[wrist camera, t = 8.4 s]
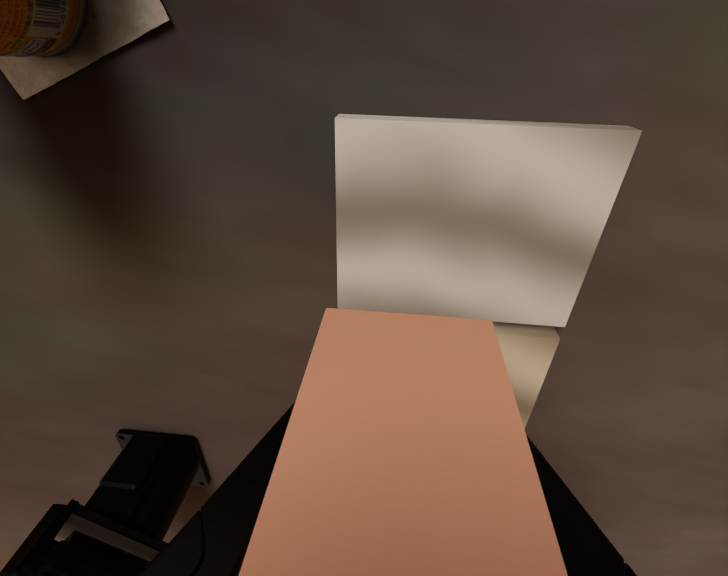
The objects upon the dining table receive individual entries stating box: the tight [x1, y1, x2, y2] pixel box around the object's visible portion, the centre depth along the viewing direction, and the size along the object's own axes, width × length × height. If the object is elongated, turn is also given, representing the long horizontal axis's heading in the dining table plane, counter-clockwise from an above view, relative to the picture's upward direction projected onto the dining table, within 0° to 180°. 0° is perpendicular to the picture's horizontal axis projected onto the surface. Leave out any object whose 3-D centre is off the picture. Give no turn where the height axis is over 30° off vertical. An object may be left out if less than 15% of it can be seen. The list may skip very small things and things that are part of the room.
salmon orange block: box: [239, 308, 568, 576], centre depth 8 cm, size 4×4×6 cm
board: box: [335, 114, 642, 429], centre depth 21 cm, size 20×12×1 cm, turn 179°
